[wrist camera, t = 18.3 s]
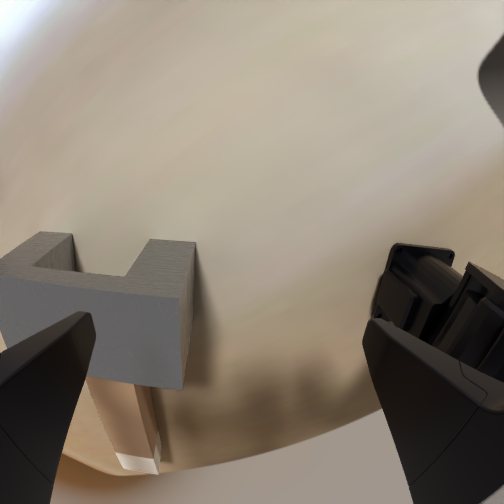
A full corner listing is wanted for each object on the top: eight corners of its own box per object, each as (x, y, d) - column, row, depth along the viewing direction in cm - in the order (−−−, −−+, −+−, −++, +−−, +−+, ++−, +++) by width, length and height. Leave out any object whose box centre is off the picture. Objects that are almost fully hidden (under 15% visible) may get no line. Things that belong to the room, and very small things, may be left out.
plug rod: (144, 347, 22) (133, 382, 19) (162, 446, 28) (158, 474, 24) (99, 341, 22) (83, 373, 18) (129, 441, 28) (123, 468, 24)
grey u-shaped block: (195, 242, 19) (179, 298, 13) (193, 319, 21) (182, 390, 15) (40, 231, 18) (-18, 272, 12) (52, 302, 20) (10, 354, 14)
